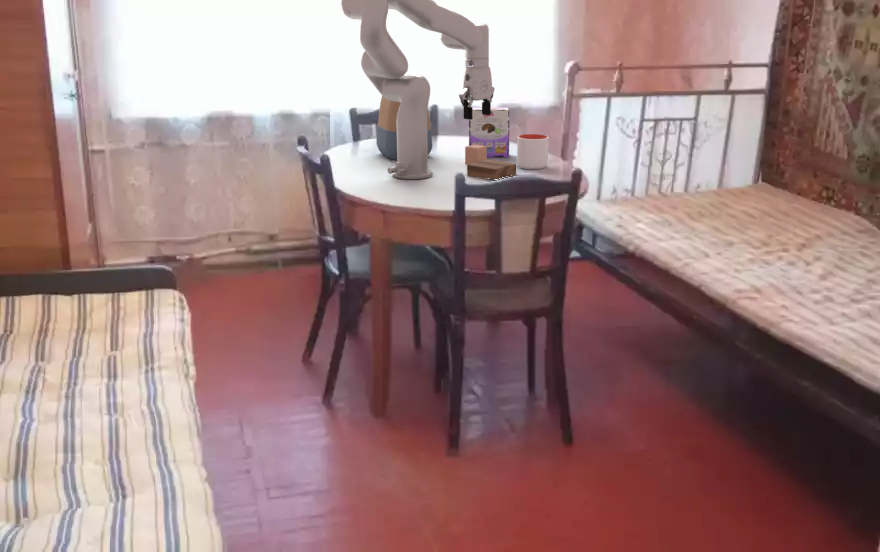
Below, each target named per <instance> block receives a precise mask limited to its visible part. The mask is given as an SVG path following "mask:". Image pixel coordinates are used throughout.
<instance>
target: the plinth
mask: <svg viewBox="0 0 880 552" xmlns="http://www.w3.org/2000/svg"><path fill="white" fill-rule="evenodd" d="M514 174H516V175H517V162H516V163H515V162H510V161H509V162H508V161H503V160H502V161H501V160H495V159H489V158H488V159H487V158H486V160H483V161H479V162H476V163H472V164H468V165H466V176H467V175H468V176H467V177H473V178H477V177H479V178H478V179H483V178H490V179H499V178H502V177H506V176H510V177H512V176H511V175H513V176H515V175H514ZM506 178H507V177H506ZM499 180H500V179H499Z"/></svg>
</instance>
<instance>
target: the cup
mask: <svg viewBox="0 0 880 552" xmlns="http://www.w3.org/2000/svg"><path fill="white" fill-rule="evenodd" d="M549 138H550V137H549V136H548V135H547V134H546V135H545V134H539V133H526V134H519V135H518V136H517V138H516V139H517V143H516V144H517V145H516V146H517V148H516V166H517V167H518V168H520V169H524V170H530V169H532V170H534V171H535V169H536V170H541V169H545V168H547V166H548V162H549Z"/></svg>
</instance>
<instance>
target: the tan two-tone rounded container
mask: <svg viewBox="0 0 880 552" xmlns="http://www.w3.org/2000/svg"><path fill="white" fill-rule="evenodd" d="M400 104H401V103H399V102H393V101H390V100H387V99H386V98H385V97H383V96H382V95H381V97H380V103H379V111H378V120H377V121H378V122H377V125H376V145H377V146H376V147H377V149H378V151H379V152H380V153H381V154H382V155H384V156H385V157H386V158H389V159H390V160H395V161H397V126H396V119H397V113H398V110H399V107H400ZM430 120H431V119H430V111H429V110H428V111H427V142H428V156H429V155H430V153H431V152H432V149H433V134H432V133H433V132H432V131H433V130H432V129H431V121H430Z"/></svg>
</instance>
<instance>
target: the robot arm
mask: <svg viewBox="0 0 880 552" xmlns="http://www.w3.org/2000/svg"><path fill="white" fill-rule="evenodd" d="M340 6H341V11H342V13H343V14H344V15H345V16H346V17H347V18H349V19H351V20H359V21H360V27H359V35H358V36H359V42H360V44H361V47H362V48H363V52H362V54H361V57H360V64H361V67H362V70H363V71H362V72H363V73H364V75H365V76H366V77H367V78H368V80H369V81H370V83H371V84H372V85H373V86H374V87H375V89H376V90H377V91H378V92H379V94H380V95H381V97H382V96H383V97H385V98H386V99H387V100H390V101H393V102H399V103H401V104H400V107H399V110H398V113H397V119H396V126H397V160H396V162H395V163H394V166H389V167H387V170H386V171H387V173H388V174H389V175H391V174H392V175H391V176H393V177H394V178H396V179H402V180H422V179H428V178H430V177H432V176H433V175H434V173H433V170H431V169H429V168H428V167H429V165H428V163H429V162H428V161H429V160H428V158H429V155H428V142H427V111H429V102H430V96H431V86H430V85H431V84H430V83H429V81H428V79H427V78H426V77H425V76H424V75H421V74H419V73H417V72H410V71H408V70H409V63H408V59H407V57H406V56H405V54H404V53H403V51H402V50H401V49H400V47H399V46H398V44H397V43H396V42H395V40H393V38H392V36H391V35H390V33H389V32H388V30H387V18H388V15H389V14H388V13H389V10H394V11H397V12H399V14H401V15H403V16H404V17H405V18H407V19H409V20H410V21H411V22H413V23H414V24H416V25H417V26H419V27H421V28H422V29H424V30H425V29H426V30H428V31H431V32H436V33H439V34H440V40H441V41H440V42H441V44H442V45H444V47H446V48H448V49H453V50H462V51H463V50H464V55H465V56H464V59H465V60H464V62H465V63H464V65H465V66H464V67H465V68H464V73H463V83H462V84H463V87H462V89H463V90H462V91H461V92H459V95H458V96H459V100H460V103H461V104H462V105H461V106H462V107H463V120H468V121H469V120H471V119H472V118H473V116H472V107H473V106H472V105H473V103H474V101H476V102H477V101H481V100H482V102H481V107H482V114H483V115H491V107H492V106H491V105H492V104H491V103H492V101H493V100H492V99H493V97H494V93H495V87H494V86H493V81H492V79H493V77H492V71H491V66H490V58H489V57H490V45H489V44H490V41H489V39H490V35H489V34H490V33H489V31H490V29H489V26H488V24H486V23H483V22H480V23H479V22H475V23H473V22H472V21H471V20H469V18H467V17H465V16H464V15H463V14H460V13H459V12H456V11H454V10H452V9H450V8H448V7H447V6H444V5H443V4H440V3H438V2H436V1H434V0H341V1H340Z"/></svg>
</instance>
